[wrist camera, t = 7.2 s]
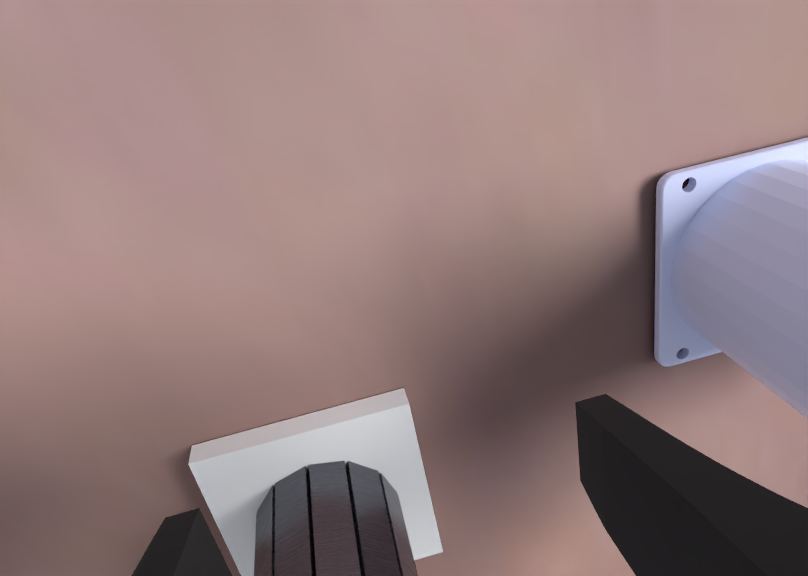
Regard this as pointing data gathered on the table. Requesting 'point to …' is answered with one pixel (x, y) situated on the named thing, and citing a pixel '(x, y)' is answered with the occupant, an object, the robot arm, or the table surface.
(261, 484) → the white square peg stand
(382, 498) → the gray grooved hollow cylinder
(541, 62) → the table surface
